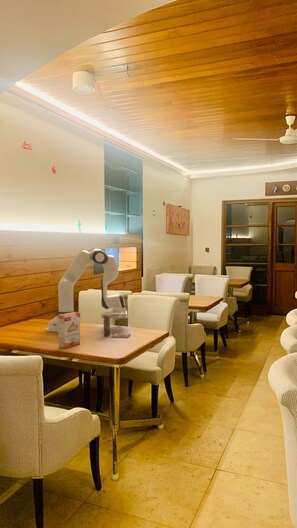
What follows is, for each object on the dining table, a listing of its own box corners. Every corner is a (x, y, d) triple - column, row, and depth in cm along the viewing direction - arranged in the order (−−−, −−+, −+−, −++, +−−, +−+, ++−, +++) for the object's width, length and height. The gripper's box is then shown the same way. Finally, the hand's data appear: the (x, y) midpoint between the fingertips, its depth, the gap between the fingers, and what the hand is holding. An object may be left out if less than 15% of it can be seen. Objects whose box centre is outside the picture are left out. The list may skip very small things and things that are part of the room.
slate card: (110, 337, 271) (110, 336, 271) (113, 334, 279) (113, 333, 279) (127, 338, 269) (127, 336, 269) (130, 335, 277) (130, 334, 277)
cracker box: (65, 349, 241) (64, 315, 240) (58, 347, 244) (57, 314, 243) (80, 344, 253) (80, 312, 252) (74, 342, 256) (73, 311, 255)
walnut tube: (102, 336, 273) (102, 315, 273) (104, 334, 278) (104, 314, 277) (109, 336, 273) (109, 315, 272) (111, 335, 277) (110, 314, 277)
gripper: (103, 309, 302) (98, 312, 288) (129, 309, 299) (125, 313, 285) (103, 317, 302) (98, 321, 289) (129, 317, 299) (125, 321, 285)
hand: (111, 317), depth 287 cm, fingers open, 8 cm apart
